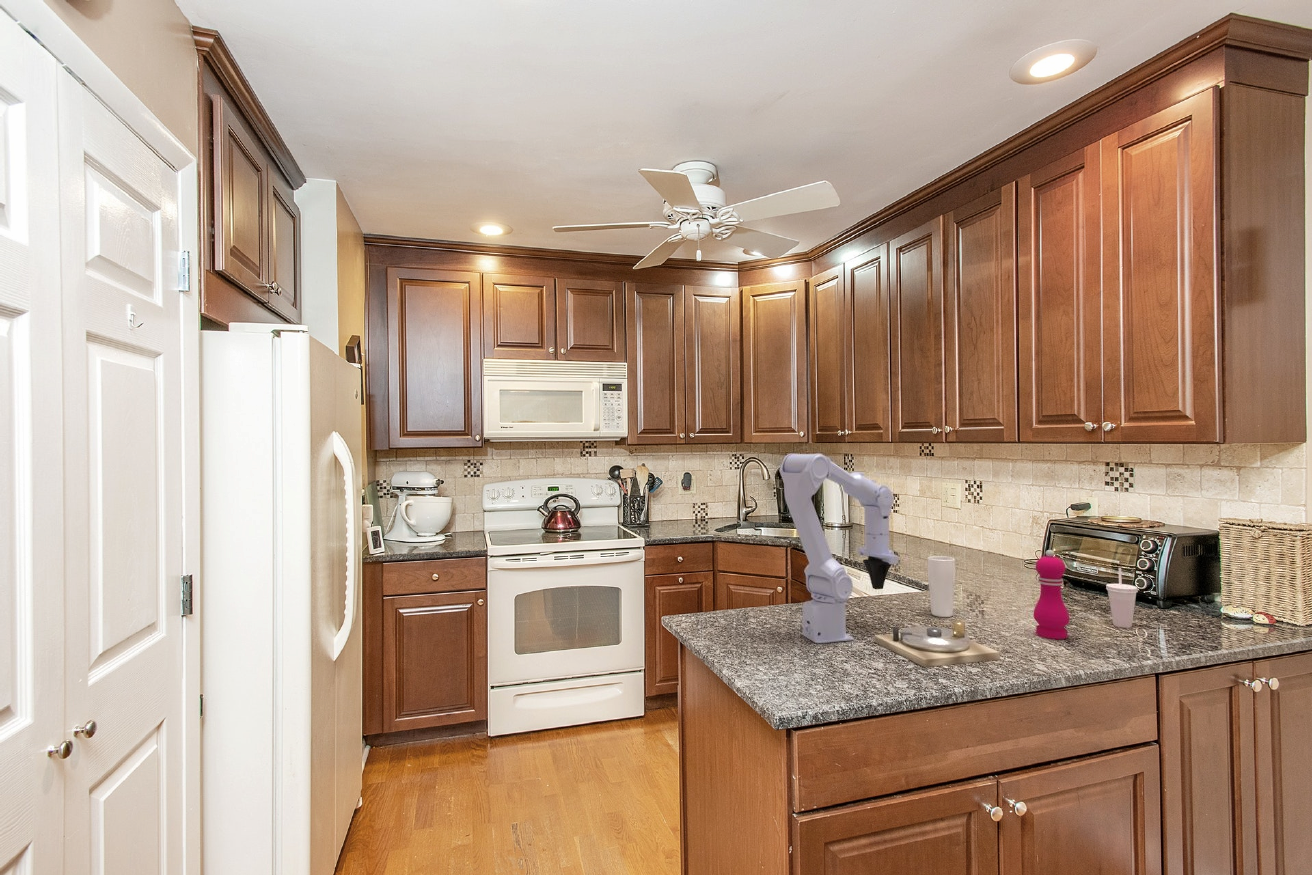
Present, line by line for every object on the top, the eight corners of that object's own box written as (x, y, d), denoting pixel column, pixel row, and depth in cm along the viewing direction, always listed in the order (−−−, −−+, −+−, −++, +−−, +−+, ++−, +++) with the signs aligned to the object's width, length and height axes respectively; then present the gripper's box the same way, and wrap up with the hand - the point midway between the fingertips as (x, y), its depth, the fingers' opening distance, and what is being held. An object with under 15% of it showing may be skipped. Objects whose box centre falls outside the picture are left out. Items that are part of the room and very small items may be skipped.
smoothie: (1128, 622, 165) (1127, 566, 165) (1144, 629, 159) (1143, 570, 159) (1101, 622, 166) (1100, 565, 166) (1116, 629, 159) (1115, 570, 159)
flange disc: (905, 649, 139) (904, 628, 139) (896, 631, 153) (896, 611, 153) (976, 653, 136) (976, 631, 136) (961, 634, 150) (961, 614, 150)
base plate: (924, 667, 134) (924, 644, 134) (874, 641, 151) (874, 622, 151) (999, 659, 138) (999, 637, 138) (942, 635, 156) (942, 616, 156)
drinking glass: (952, 619, 169) (951, 561, 169) (925, 616, 173) (924, 558, 174) (959, 614, 175) (957, 557, 175) (932, 610, 179) (931, 555, 179)
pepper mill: (1075, 640, 150) (1073, 552, 151) (1040, 639, 152) (1038, 551, 152) (1062, 631, 157) (1060, 547, 158) (1029, 630, 159) (1027, 547, 159)
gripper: (909, 536, 158) (910, 593, 158) (874, 529, 172) (875, 581, 172) (882, 537, 156) (883, 595, 156) (850, 530, 170) (851, 583, 170)
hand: (877, 588), depth 164 cm, fingers closed
